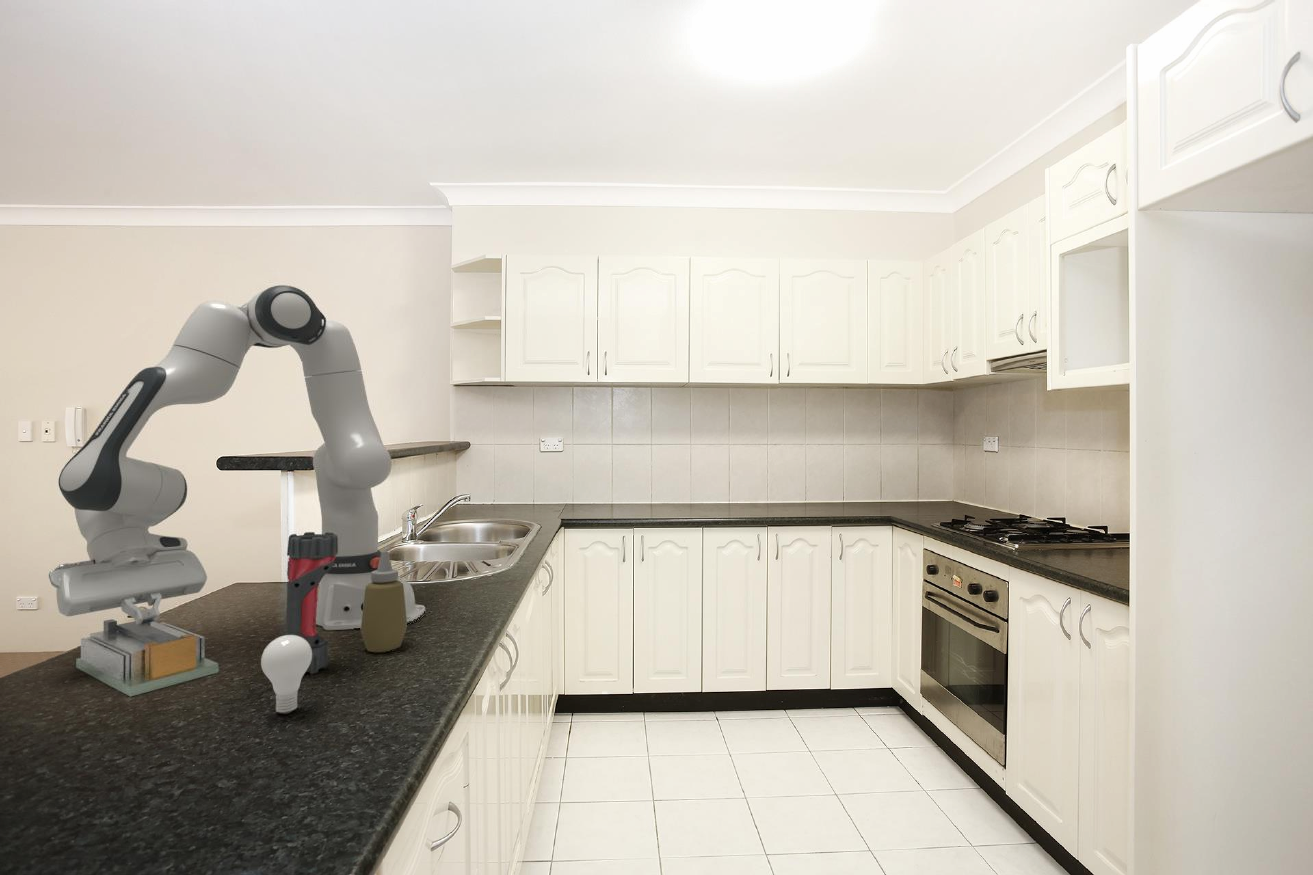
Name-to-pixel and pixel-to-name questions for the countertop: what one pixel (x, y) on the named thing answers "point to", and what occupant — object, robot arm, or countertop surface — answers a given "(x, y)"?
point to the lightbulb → (286, 668)
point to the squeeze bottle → (384, 609)
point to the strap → (145, 633)
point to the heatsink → (144, 659)
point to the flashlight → (308, 588)
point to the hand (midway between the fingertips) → (148, 620)
